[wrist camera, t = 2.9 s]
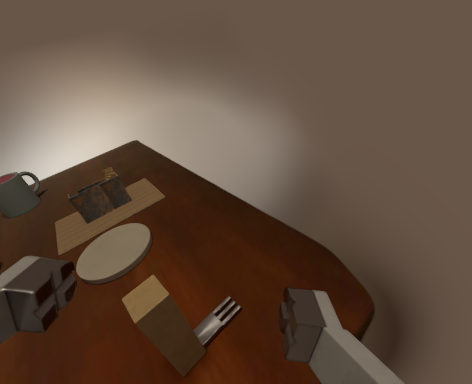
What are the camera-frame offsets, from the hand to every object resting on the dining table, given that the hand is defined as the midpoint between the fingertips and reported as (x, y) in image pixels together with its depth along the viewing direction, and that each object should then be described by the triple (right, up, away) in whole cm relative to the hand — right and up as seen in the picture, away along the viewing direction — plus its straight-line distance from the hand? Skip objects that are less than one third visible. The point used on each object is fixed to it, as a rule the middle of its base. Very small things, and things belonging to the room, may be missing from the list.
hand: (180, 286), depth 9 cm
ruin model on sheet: (-30, -1, +51) cm, 59 cm away
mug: (-63, 0, +65) cm, 91 cm away
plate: (-21, -8, +37) cm, 43 cm away
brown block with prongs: (-1, -14, +20) cm, 25 cm away
